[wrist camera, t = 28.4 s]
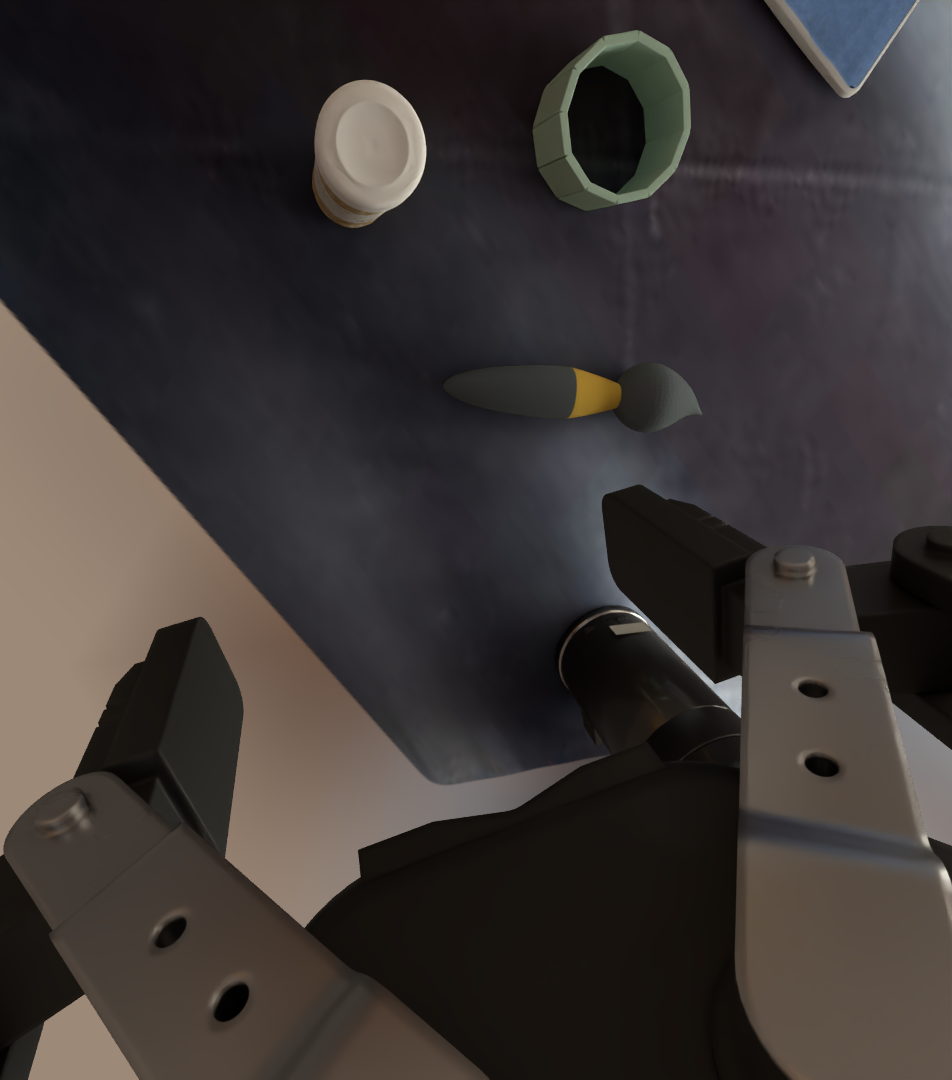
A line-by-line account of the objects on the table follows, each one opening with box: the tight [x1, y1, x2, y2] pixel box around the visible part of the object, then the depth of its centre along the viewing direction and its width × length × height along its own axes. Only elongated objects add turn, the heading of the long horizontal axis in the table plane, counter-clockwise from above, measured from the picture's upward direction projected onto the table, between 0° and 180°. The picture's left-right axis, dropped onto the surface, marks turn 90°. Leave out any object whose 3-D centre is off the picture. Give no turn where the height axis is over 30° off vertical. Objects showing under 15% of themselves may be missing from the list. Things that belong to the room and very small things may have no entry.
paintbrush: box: [443, 363, 703, 433], centre depth 43 cm, size 20×5×5 cm, turn 89°
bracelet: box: [532, 30, 691, 211], centre depth 37 cm, size 8×8×4 cm
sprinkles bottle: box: [312, 80, 426, 228], centre depth 30 cm, size 5×5×13 cm
